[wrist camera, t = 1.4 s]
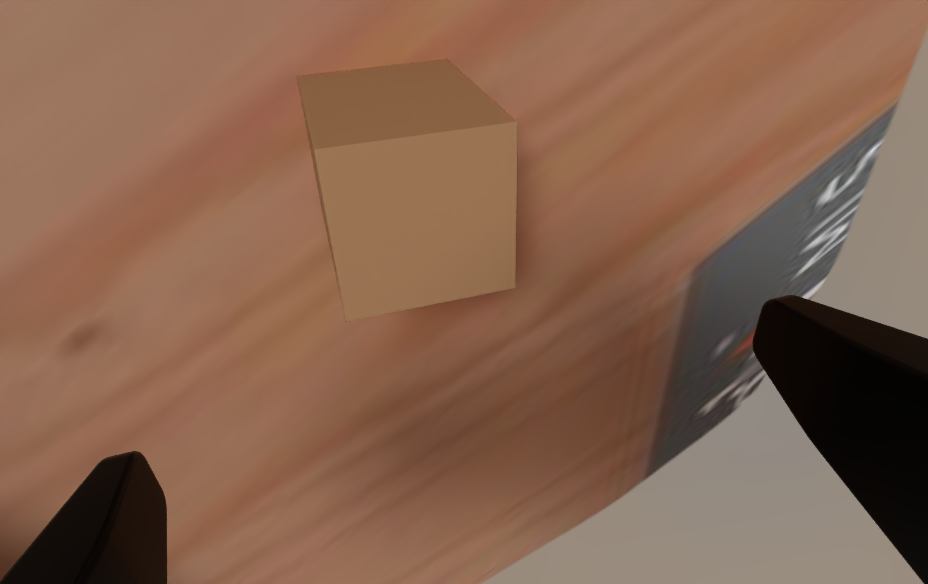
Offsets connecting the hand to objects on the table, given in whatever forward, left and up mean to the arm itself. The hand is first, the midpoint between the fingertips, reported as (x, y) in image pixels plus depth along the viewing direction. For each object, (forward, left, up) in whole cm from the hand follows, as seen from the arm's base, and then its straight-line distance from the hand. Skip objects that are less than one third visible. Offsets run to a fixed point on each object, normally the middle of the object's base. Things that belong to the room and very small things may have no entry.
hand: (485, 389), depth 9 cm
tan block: (-1, -1, -12) cm, 12 cm away
